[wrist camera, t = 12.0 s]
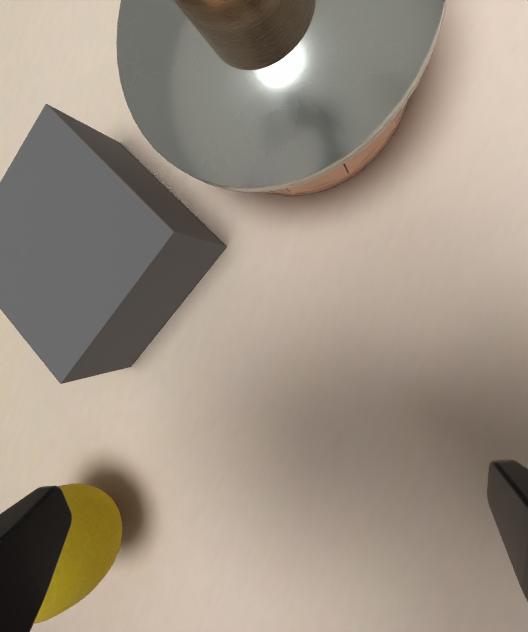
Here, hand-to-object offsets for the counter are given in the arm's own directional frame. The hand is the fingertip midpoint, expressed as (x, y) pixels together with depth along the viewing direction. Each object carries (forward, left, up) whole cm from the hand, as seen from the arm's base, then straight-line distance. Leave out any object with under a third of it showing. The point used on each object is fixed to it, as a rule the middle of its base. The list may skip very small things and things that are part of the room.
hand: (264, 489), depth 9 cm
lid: (+6, -13, -7) cm, 16 cm away
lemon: (+11, +12, -12) cm, 20 cm away
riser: (+14, -2, -12) cm, 18 cm away
